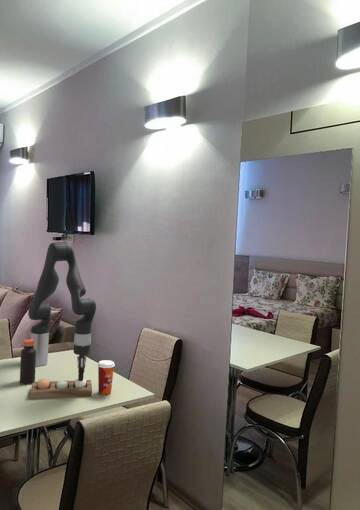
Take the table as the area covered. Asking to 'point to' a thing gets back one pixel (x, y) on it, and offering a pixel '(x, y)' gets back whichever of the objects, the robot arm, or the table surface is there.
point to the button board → (60, 390)
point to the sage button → (62, 384)
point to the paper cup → (105, 376)
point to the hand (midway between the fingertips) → (80, 380)
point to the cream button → (80, 383)
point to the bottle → (28, 362)
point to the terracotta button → (43, 384)
